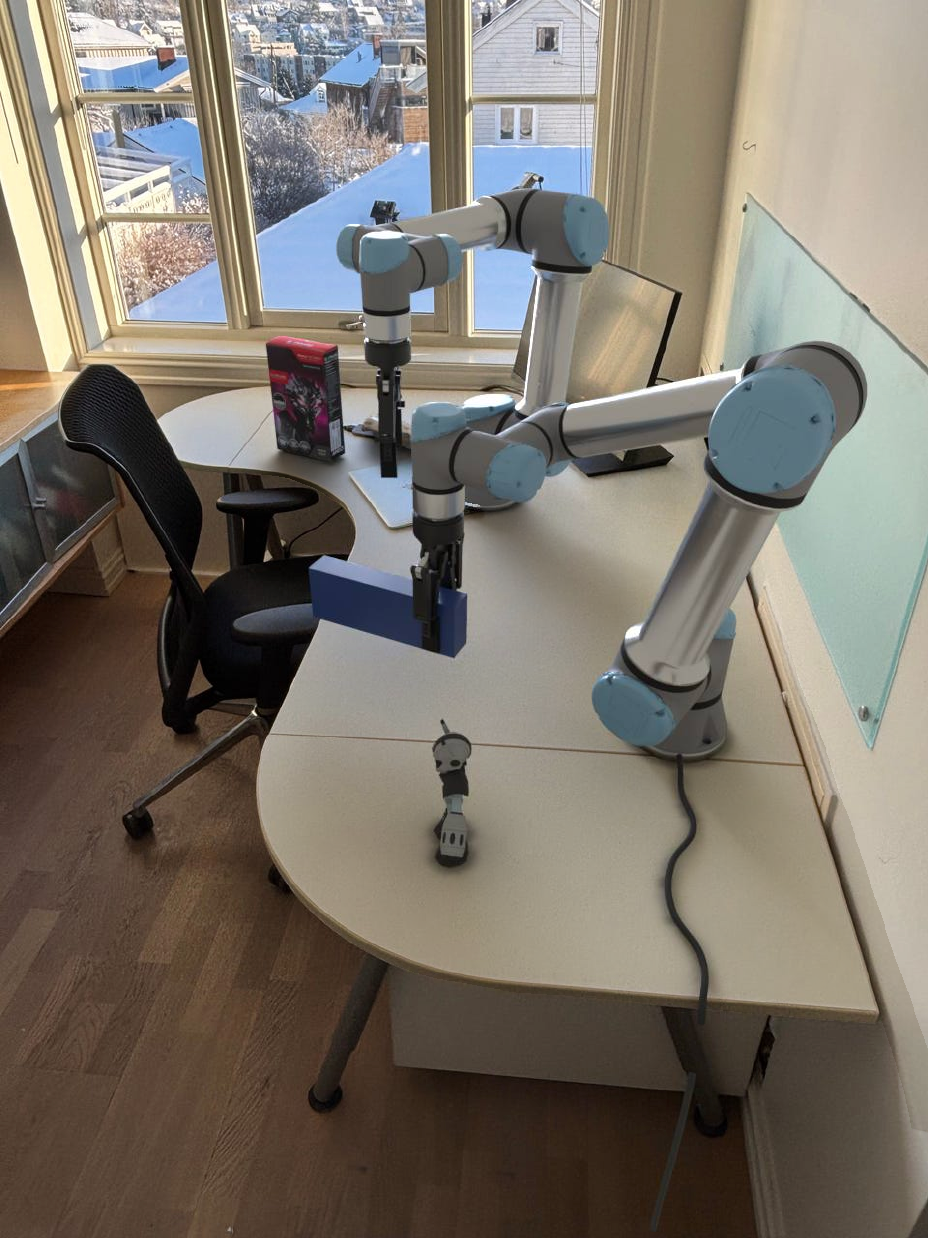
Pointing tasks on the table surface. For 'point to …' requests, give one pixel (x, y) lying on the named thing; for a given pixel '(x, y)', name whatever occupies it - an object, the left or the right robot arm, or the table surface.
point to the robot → (452, 796)
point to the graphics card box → (306, 397)
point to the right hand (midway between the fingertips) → (438, 641)
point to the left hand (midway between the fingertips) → (392, 460)
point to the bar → (382, 604)
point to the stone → (372, 426)
